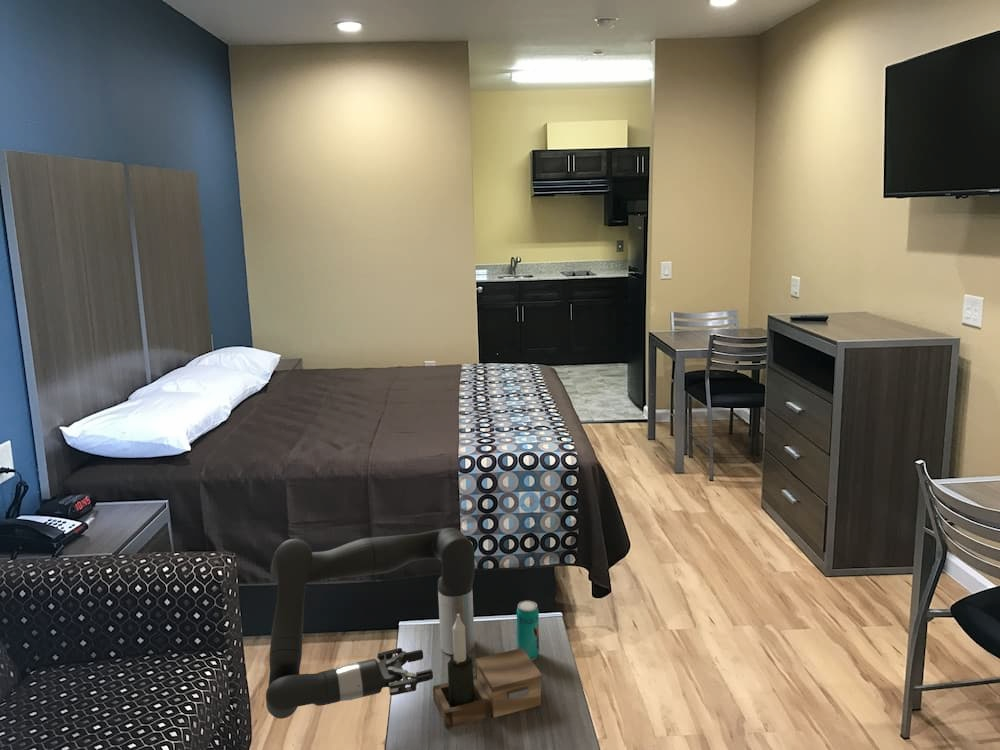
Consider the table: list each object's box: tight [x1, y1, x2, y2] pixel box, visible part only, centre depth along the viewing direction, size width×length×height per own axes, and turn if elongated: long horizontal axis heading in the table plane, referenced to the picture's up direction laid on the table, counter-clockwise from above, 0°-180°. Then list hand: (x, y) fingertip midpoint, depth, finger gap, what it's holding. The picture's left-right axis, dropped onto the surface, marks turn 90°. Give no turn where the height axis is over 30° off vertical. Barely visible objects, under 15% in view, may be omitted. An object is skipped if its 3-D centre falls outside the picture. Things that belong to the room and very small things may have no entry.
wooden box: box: [432, 648, 543, 729], centre depth 187 cm, size 14×24×8 cm, turn 110°
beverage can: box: [516, 600, 540, 662], centre depth 205 cm, size 6×6×15 cm
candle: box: [447, 614, 475, 708], centre depth 183 cm, size 5×5×25 cm
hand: (427, 663), depth 180 cm, fingers open, 8 cm apart
